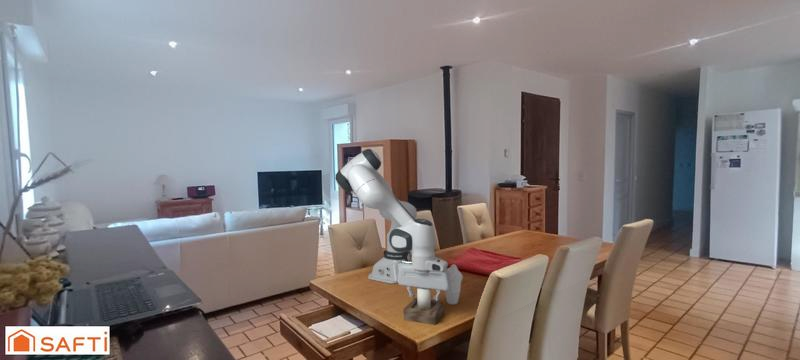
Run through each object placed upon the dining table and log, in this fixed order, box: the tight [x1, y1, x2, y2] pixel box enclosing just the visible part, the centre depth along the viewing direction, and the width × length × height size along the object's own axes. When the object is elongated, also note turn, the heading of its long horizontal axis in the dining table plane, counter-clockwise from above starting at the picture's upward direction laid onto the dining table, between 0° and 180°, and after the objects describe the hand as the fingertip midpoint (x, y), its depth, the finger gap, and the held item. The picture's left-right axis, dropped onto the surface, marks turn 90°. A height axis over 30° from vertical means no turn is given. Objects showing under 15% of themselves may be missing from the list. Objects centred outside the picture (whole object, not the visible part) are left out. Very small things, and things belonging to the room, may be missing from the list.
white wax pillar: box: [416, 287, 432, 310], centre depth 139 cm, size 5×5×8 cm
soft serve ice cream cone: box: [444, 263, 464, 305], centre depth 151 cm, size 8×8×16 cm
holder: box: [403, 297, 445, 325], centre depth 139 cm, size 12×12×4 cm
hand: (423, 298), depth 139 cm, fingers open, 8 cm apart
